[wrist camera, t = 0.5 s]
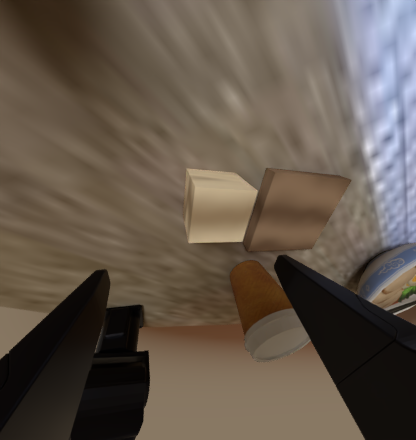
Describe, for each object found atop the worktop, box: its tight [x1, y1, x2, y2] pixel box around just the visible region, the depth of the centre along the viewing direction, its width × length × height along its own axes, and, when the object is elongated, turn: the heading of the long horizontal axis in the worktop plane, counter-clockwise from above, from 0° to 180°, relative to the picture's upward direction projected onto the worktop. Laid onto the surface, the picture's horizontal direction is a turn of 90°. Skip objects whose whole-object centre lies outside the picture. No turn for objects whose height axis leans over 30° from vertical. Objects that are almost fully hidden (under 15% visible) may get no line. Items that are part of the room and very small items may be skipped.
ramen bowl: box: [357, 242, 416, 315], centre depth 38 cm, size 25×23×8 cm
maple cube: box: [183, 169, 258, 243], centre depth 19 cm, size 6×6×6 cm
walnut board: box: [243, 168, 351, 251], centre depth 25 cm, size 12×12×2 cm
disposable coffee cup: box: [230, 260, 311, 362], centre depth 27 cm, size 10×10×12 cm
